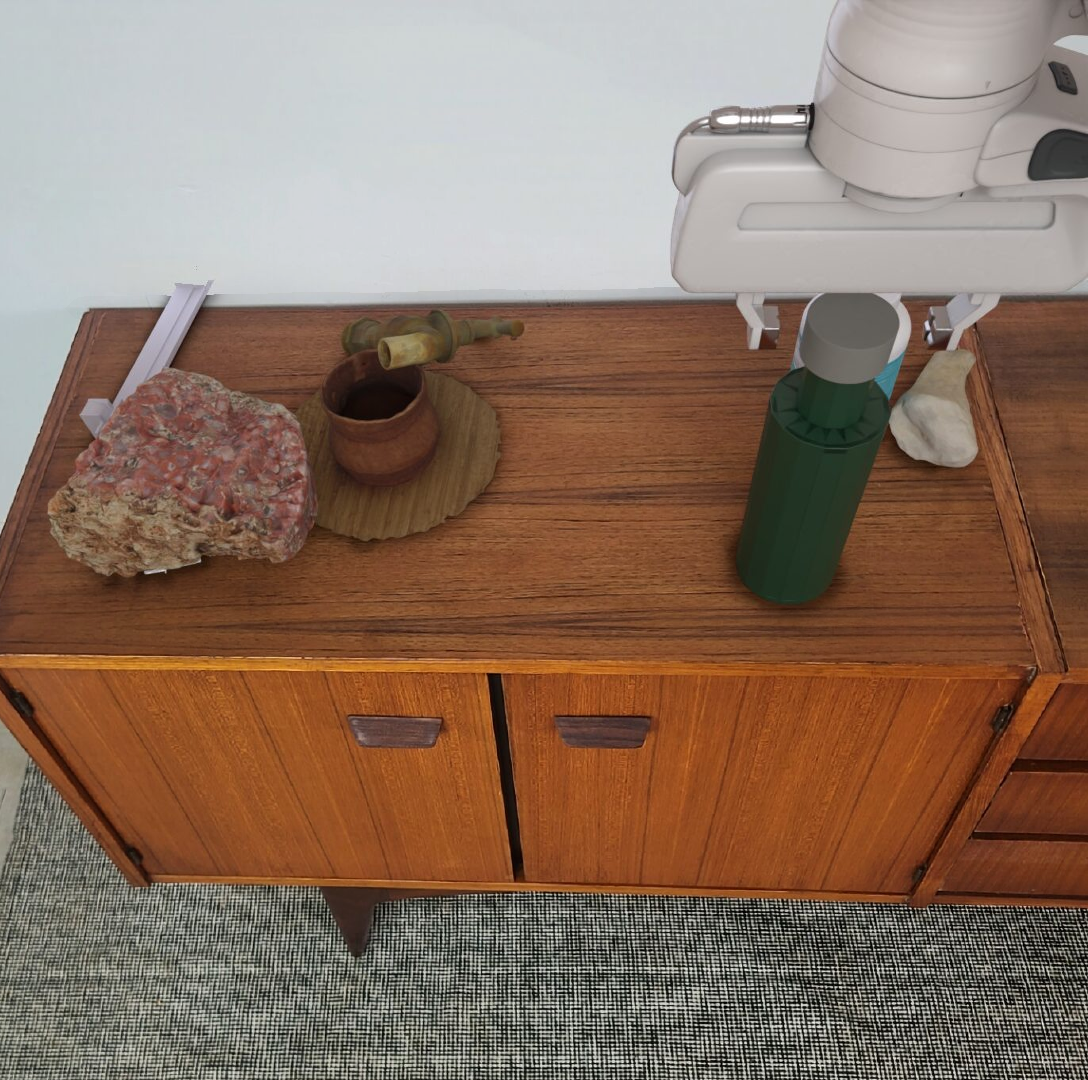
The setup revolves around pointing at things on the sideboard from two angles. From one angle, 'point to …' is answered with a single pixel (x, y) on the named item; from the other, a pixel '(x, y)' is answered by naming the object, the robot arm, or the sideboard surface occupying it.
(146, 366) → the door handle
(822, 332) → the cylinder
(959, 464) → the beige lumpy piece
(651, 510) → the sideboard surface
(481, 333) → the faucet
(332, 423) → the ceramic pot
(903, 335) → the pill bottle
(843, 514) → the bottle
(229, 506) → the rock
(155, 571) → the card
